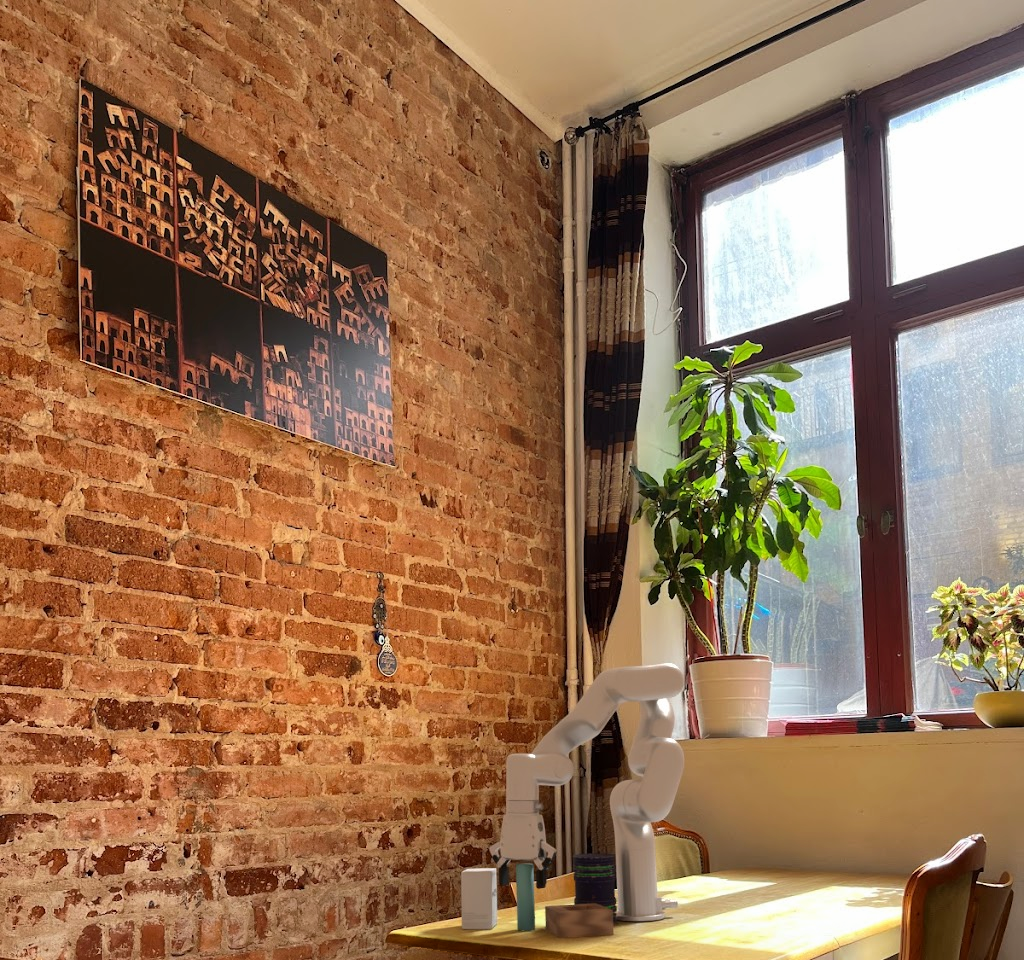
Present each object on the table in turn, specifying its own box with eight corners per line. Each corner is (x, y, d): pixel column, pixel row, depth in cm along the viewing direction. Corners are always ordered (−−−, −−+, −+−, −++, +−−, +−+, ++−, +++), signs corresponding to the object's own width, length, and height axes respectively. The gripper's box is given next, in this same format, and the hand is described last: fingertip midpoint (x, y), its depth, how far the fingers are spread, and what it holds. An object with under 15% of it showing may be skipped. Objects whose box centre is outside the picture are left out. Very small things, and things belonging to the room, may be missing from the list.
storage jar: (574, 926, 257) (572, 857, 260) (574, 920, 266) (572, 853, 269) (618, 926, 256) (616, 857, 260) (616, 919, 266) (613, 853, 269)
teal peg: (532, 927, 257) (530, 863, 260) (537, 930, 253) (535, 864, 256) (515, 928, 256) (514, 864, 259) (519, 931, 252) (518, 865, 255)
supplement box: (492, 929, 256) (491, 871, 259) (460, 929, 257) (460, 871, 260) (498, 924, 263) (497, 867, 266) (467, 924, 264) (466, 867, 267)
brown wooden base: (596, 926, 256) (595, 903, 257) (613, 934, 245) (612, 910, 246) (545, 929, 253) (545, 906, 255) (560, 938, 242) (559, 913, 243)
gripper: (563, 808, 259) (563, 887, 255) (499, 807, 268) (498, 883, 264) (547, 810, 253) (547, 890, 249) (482, 808, 262) (481, 886, 257)
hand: (522, 886), depth 256 cm, fingers open, 9 cm apart
